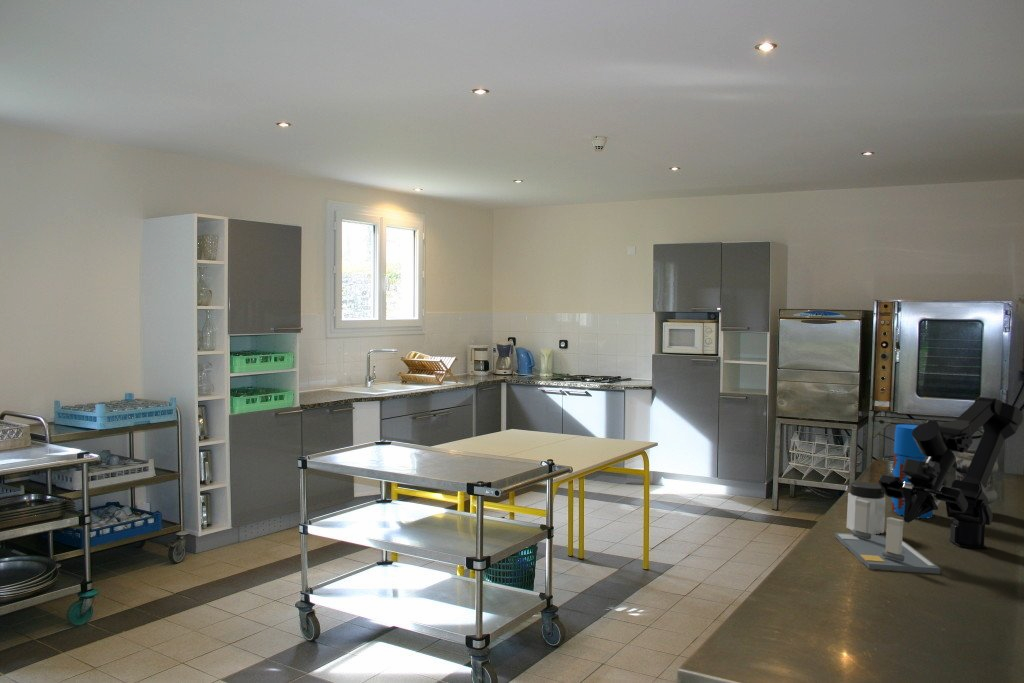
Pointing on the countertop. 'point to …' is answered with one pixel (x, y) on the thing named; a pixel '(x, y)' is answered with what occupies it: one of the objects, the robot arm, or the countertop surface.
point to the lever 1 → (862, 519)
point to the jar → (877, 505)
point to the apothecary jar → (962, 468)
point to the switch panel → (873, 558)
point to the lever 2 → (894, 539)
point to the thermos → (904, 450)
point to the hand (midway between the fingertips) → (906, 521)
